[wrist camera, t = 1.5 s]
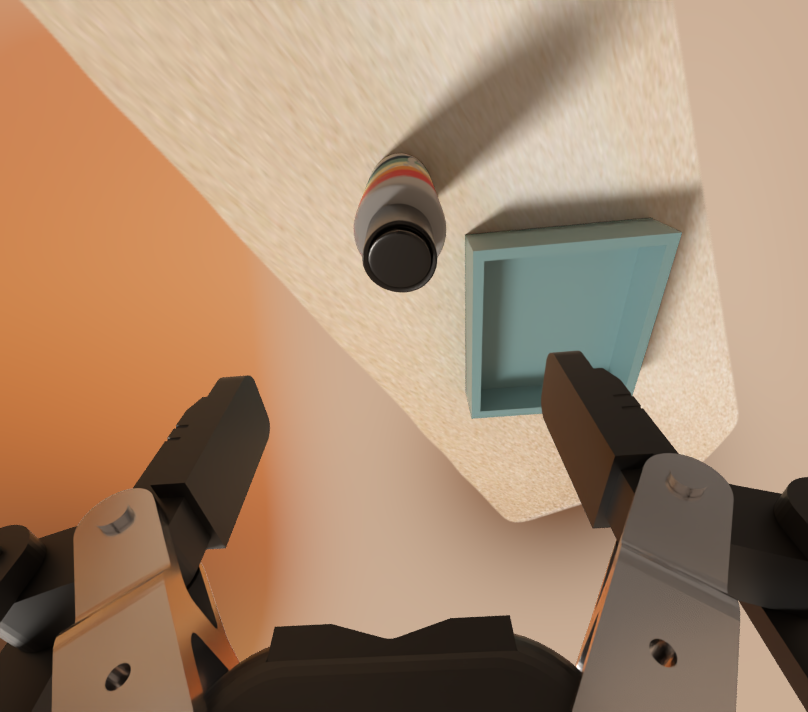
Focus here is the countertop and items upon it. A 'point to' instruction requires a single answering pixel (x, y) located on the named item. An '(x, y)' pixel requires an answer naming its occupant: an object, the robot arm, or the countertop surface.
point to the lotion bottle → (400, 224)
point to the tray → (559, 305)
